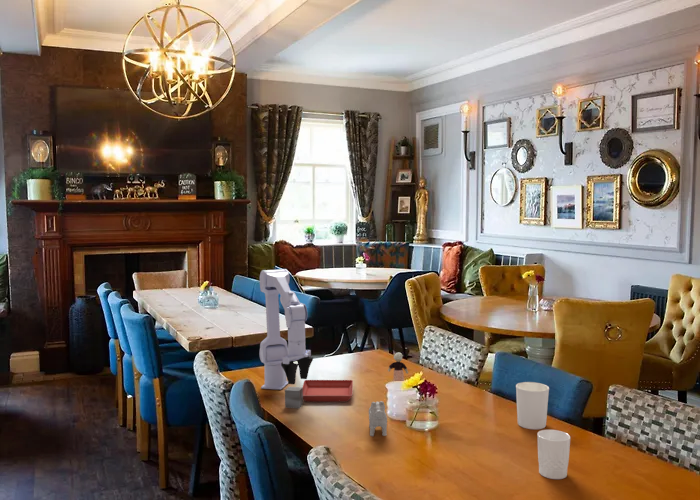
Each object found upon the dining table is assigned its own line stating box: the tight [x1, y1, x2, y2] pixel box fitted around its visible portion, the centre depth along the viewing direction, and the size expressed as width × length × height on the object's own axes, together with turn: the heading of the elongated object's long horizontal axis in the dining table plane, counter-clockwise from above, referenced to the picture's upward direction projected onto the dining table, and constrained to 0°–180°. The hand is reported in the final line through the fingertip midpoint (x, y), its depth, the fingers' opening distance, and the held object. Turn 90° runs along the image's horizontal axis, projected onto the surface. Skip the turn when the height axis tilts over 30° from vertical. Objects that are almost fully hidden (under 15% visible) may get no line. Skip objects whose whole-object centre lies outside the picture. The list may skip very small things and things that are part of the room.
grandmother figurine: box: [387, 352, 409, 382], centre depth 234 cm, size 8×4×13 cm, turn 84°
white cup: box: [536, 429, 571, 480], centre depth 158 cm, size 8×8×10 cm
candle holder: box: [515, 381, 550, 430], centre depth 193 cm, size 10×10×12 cm
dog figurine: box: [368, 400, 388, 437], centre depth 187 cm, size 5×13×11 cm, turn 2°
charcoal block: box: [284, 386, 304, 409], centre depth 211 cm, size 4×5×6 cm
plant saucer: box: [302, 379, 354, 403], centre depth 223 cm, size 18×18×3 cm
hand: (297, 381), depth 209 cm, fingers open, 7 cm apart
